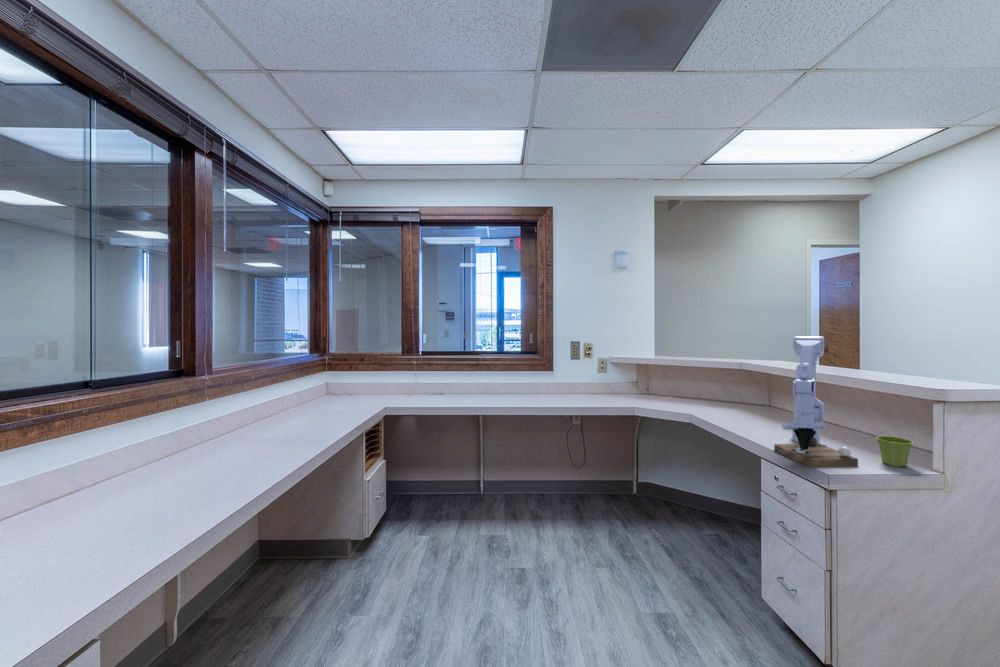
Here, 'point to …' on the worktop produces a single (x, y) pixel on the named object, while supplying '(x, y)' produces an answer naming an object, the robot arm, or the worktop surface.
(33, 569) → the worktop surface
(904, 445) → the plant pot
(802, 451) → the steel ball
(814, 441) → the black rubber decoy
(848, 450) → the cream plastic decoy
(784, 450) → the board
